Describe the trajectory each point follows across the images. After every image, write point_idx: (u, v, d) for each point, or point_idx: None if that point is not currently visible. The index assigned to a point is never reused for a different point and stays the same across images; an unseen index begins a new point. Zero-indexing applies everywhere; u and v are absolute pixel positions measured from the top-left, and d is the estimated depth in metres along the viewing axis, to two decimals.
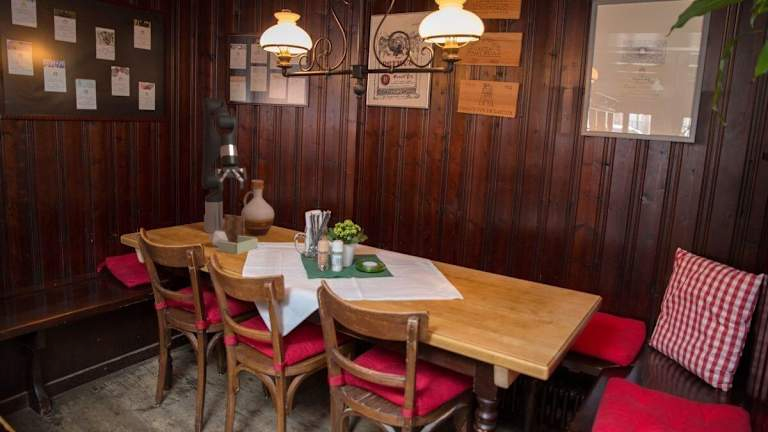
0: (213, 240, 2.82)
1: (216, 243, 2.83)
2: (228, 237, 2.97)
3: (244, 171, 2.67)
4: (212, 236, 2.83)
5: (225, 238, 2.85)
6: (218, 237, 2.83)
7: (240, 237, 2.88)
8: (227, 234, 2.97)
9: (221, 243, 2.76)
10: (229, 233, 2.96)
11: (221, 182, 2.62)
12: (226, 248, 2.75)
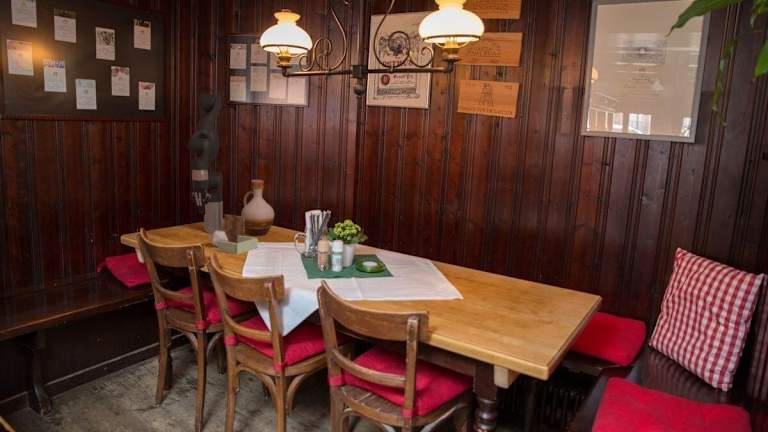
0: (213, 240, 2.82)
1: (216, 243, 2.83)
2: (228, 237, 2.97)
3: (206, 198, 2.84)
4: (212, 236, 2.83)
5: (225, 238, 2.85)
6: (218, 237, 2.83)
7: (240, 237, 2.88)
8: (227, 234, 2.97)
9: (221, 243, 2.76)
10: (229, 233, 2.96)
11: (198, 205, 2.87)
12: (226, 248, 2.75)
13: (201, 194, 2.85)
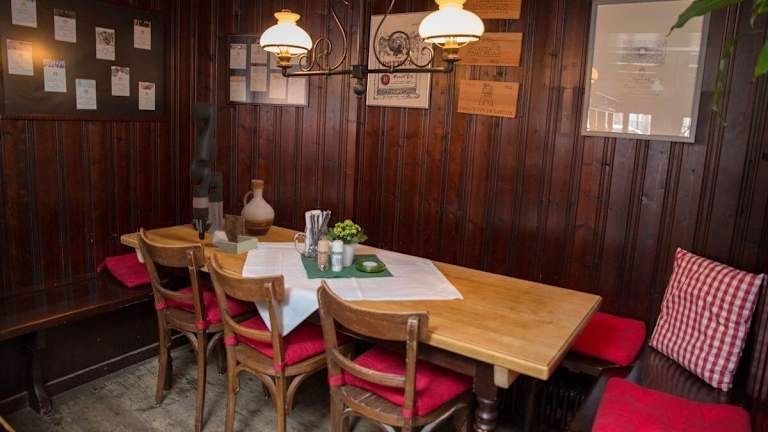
0: (213, 240, 2.82)
1: (216, 243, 2.83)
2: (228, 237, 2.97)
3: (207, 225, 2.87)
4: (212, 236, 2.83)
5: (225, 238, 2.85)
6: (218, 237, 2.83)
7: (240, 237, 2.88)
8: (227, 234, 2.97)
9: (221, 243, 2.76)
10: (229, 233, 2.96)
11: (199, 232, 2.90)
12: (226, 248, 2.75)
13: (202, 221, 2.87)
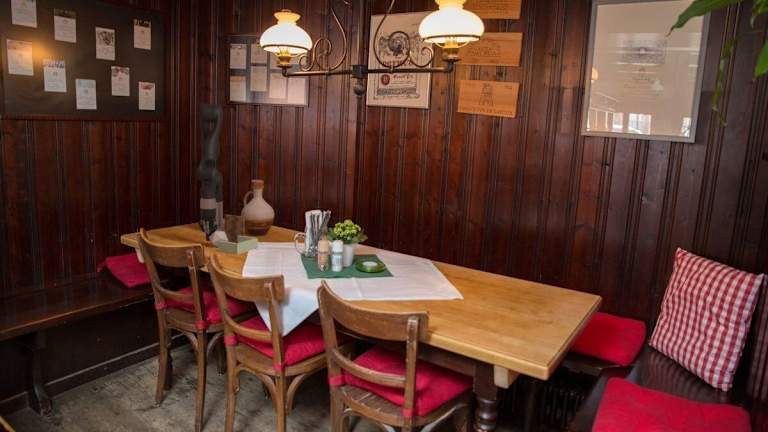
0: (213, 240, 2.82)
1: (216, 243, 2.83)
2: (228, 237, 2.97)
3: (214, 227, 2.85)
4: (212, 236, 2.83)
5: (225, 238, 2.85)
6: (218, 237, 2.83)
7: (240, 237, 2.88)
8: (227, 234, 2.97)
9: (221, 243, 2.76)
10: (229, 233, 2.96)
11: (206, 233, 2.88)
12: (226, 248, 2.75)
13: (209, 222, 2.85)
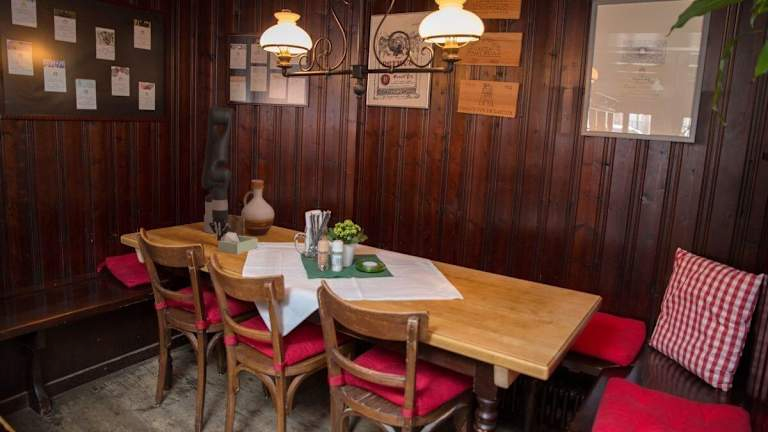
0: None
1: None
2: None
3: (225, 228, 2.82)
4: (224, 237, 2.81)
5: (236, 240, 2.82)
6: (229, 239, 2.80)
7: (240, 237, 2.88)
8: None
9: (221, 243, 2.76)
10: None
11: (217, 235, 2.85)
12: (226, 248, 2.75)
13: (220, 224, 2.82)
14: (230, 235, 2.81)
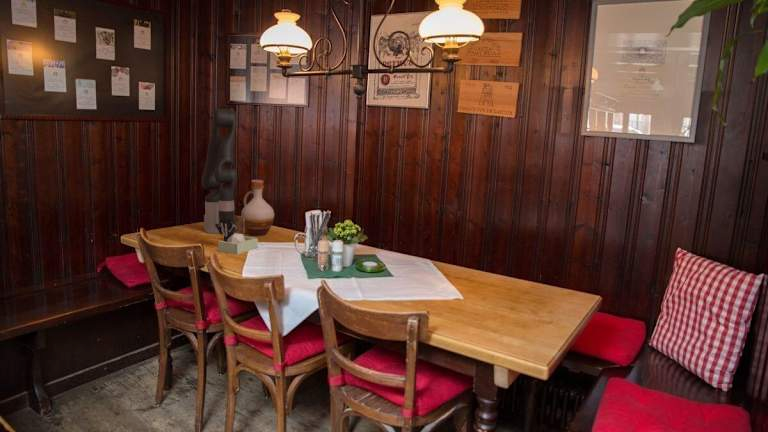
0: None
1: None
2: None
3: (232, 229, 2.80)
4: (230, 238, 2.79)
5: None
6: (236, 240, 2.78)
7: None
8: None
9: (221, 243, 2.76)
10: None
11: (224, 236, 2.83)
12: (226, 248, 2.75)
13: (227, 225, 2.81)
14: (237, 236, 2.79)
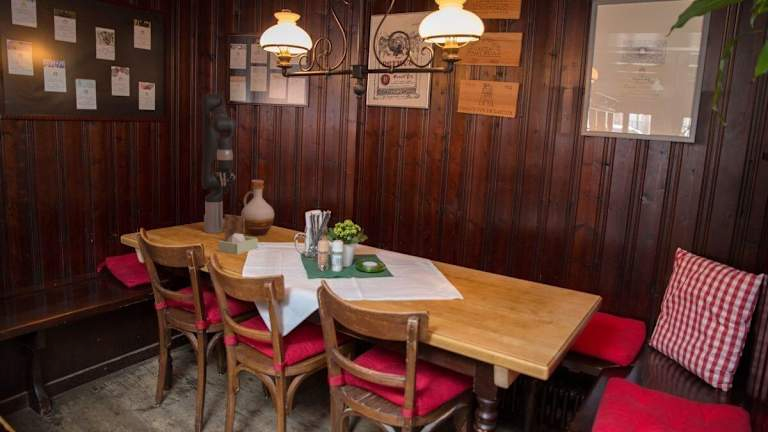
0: None
1: None
2: (228, 237, 2.97)
3: (230, 178, 2.81)
4: (231, 238, 2.79)
5: None
6: (237, 240, 2.78)
7: None
8: (227, 234, 2.97)
9: (221, 243, 2.76)
10: (229, 233, 2.96)
11: (222, 186, 2.84)
12: (226, 248, 2.75)
13: (226, 174, 2.81)
14: (237, 236, 2.79)
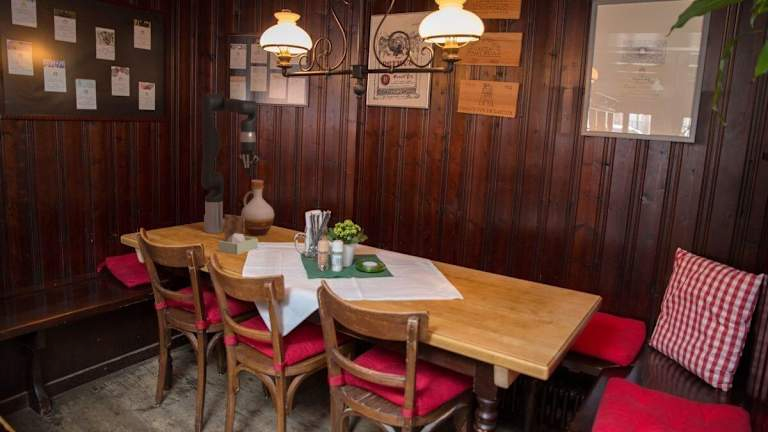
0: None
1: None
2: (228, 237, 2.97)
3: (254, 160, 2.87)
4: (231, 238, 2.79)
5: None
6: (237, 240, 2.78)
7: None
8: (227, 234, 2.97)
9: (221, 243, 2.76)
10: (229, 233, 2.96)
11: (246, 168, 2.90)
12: (226, 248, 2.75)
13: (249, 156, 2.87)
14: (237, 236, 2.79)
